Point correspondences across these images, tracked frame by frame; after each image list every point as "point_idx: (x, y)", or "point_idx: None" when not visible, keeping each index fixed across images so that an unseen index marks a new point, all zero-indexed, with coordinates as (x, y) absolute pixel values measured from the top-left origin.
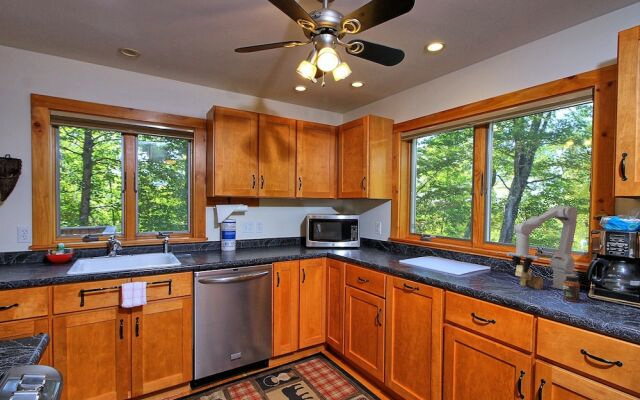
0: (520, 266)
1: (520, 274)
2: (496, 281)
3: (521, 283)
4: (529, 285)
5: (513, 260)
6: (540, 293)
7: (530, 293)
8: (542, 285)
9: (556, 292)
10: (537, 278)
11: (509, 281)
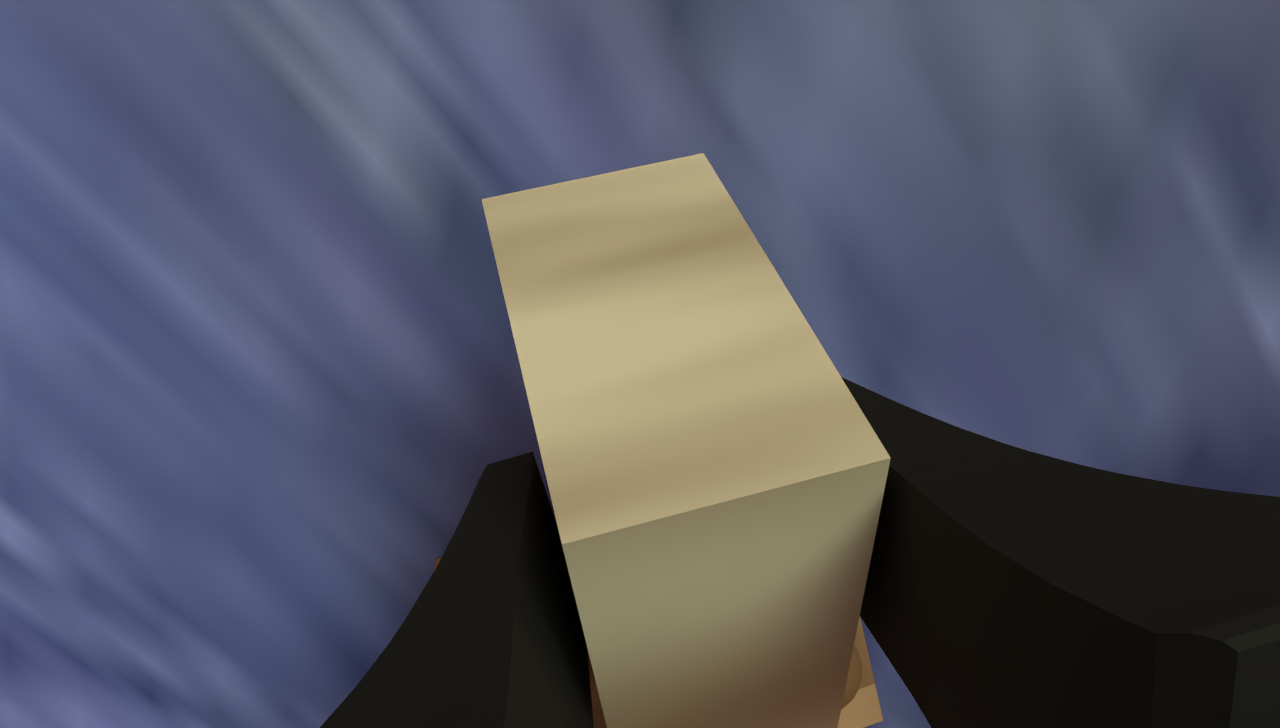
0: (665, 461)
1: (526, 223)
2: (1172, 204)
3: None
4: None
5: (1243, 516)
6: (162, 333)
7: (180, 82)
8: None
9: (205, 692)
10: None
11: None
